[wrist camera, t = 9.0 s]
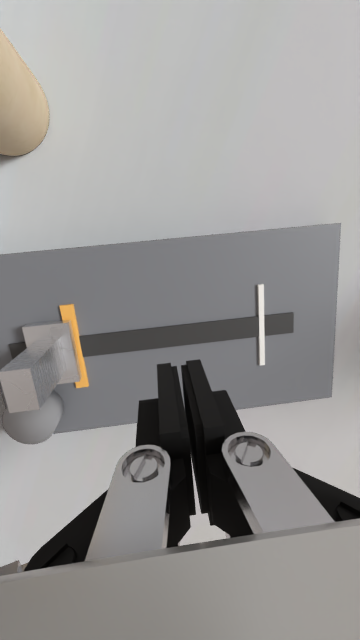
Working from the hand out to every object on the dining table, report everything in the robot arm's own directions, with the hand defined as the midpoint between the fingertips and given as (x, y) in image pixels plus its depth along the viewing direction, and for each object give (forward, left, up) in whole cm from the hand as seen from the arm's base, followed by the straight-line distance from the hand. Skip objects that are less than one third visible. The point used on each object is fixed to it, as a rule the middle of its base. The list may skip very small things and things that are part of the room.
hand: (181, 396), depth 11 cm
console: (+1, 0, -13) cm, 13 cm away
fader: (+1, -8, -10) cm, 13 cm away
